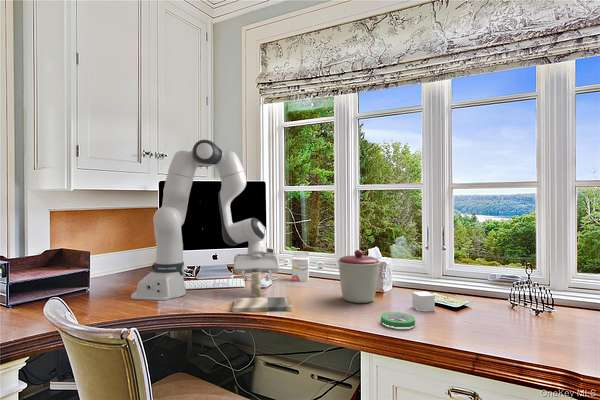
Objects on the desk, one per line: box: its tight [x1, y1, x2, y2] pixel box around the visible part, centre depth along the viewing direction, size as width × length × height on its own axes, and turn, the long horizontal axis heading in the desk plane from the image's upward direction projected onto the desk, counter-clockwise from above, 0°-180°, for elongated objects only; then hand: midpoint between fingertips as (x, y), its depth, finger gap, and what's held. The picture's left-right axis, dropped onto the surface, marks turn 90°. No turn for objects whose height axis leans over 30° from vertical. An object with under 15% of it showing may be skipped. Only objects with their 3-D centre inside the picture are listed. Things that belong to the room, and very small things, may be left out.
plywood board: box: [232, 296, 293, 313], centre depth 143 cm, size 22×14×2 cm, turn 95°
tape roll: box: [380, 311, 416, 327], centre depth 123 cm, size 11×11×3 cm
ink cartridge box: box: [291, 251, 310, 282], centre depth 189 cm, size 9×5×15 cm, turn 84°
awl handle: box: [250, 268, 262, 298], centre depth 156 cm, size 4×4×12 cm
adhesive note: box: [411, 291, 436, 312], centre depth 140 cm, size 6×6×6 cm
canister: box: [336, 249, 381, 304], centre depth 152 cm, size 18×18×21 cm
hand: (256, 280), depth 156 cm, fingers open, 8 cm apart
